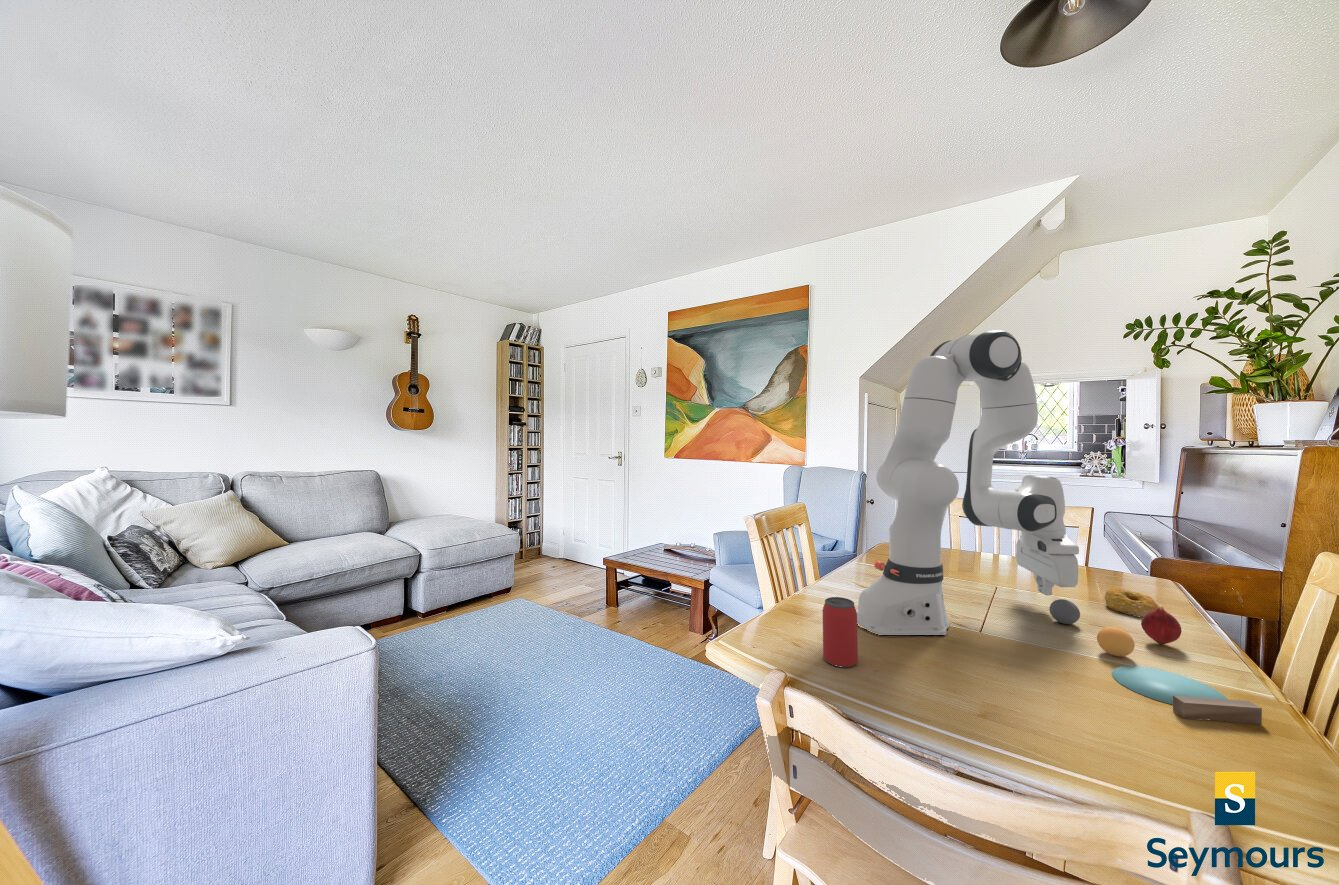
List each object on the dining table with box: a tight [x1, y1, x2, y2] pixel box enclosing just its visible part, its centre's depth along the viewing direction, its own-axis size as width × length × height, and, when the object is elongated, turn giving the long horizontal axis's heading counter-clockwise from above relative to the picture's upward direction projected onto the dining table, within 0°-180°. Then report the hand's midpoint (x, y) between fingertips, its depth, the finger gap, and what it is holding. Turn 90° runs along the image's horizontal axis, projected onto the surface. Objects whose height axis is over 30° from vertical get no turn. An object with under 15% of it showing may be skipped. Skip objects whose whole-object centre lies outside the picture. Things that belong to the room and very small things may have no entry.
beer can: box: [822, 596, 859, 668], centre depth 94 cm, size 7×7×12 cm
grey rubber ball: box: [1049, 598, 1081, 625], centre depth 110 cm, size 6×6×6 cm
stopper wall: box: [1172, 696, 1263, 725], centre depth 74 cm, size 2×10×2 cm, turn 79°
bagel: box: [1104, 587, 1159, 618], centre depth 117 cm, size 10×11×5 cm
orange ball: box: [1096, 626, 1136, 657], centre depth 94 cm, size 6×6×6 cm
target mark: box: [1111, 665, 1228, 706], centre depth 83 cm, size 14×14×1 cm
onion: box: [1140, 605, 1182, 646], centre depth 99 cm, size 6×6×8 cm
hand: (1044, 593), depth 119 cm, fingers closed
